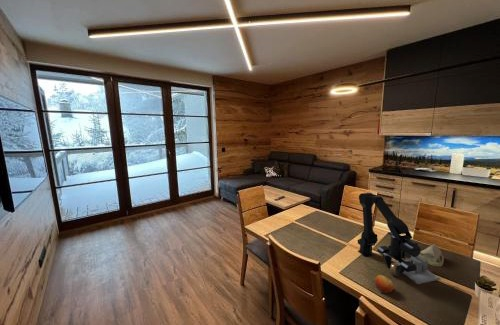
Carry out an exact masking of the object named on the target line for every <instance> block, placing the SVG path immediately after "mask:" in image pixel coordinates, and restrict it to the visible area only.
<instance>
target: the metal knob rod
mask: <svg viewBox="0 0 500 325" xmlns="http://www.w3.org/2000/svg"><path fill="white" fill-rule="evenodd" d="M413 264H415V265H416V263H413ZM397 266H399V265H398V264H396V263H395V262H391V267H390V268H389V270H390V271H389V274H390V275H392V276H394V277H399V276H398V270H397Z"/></svg>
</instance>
